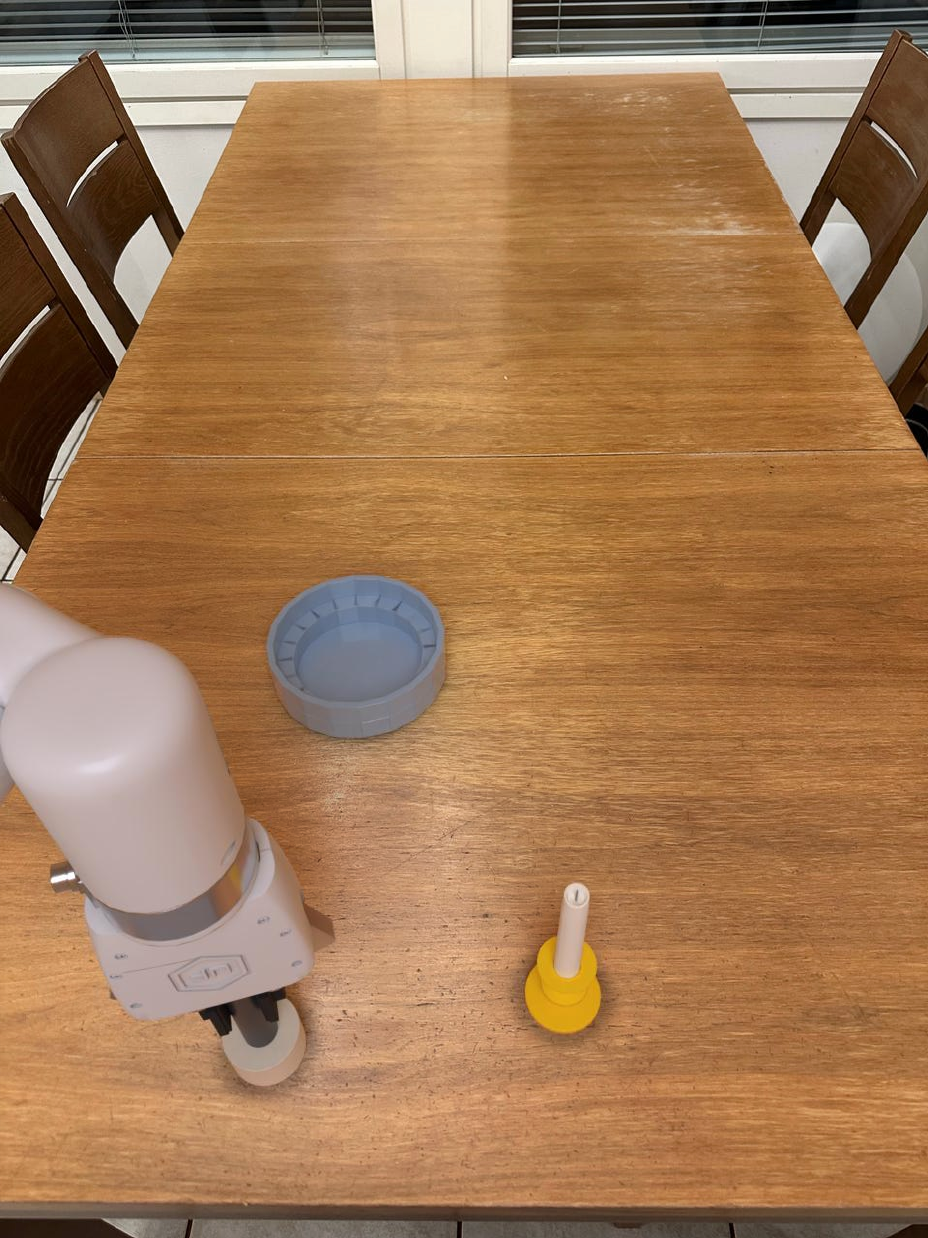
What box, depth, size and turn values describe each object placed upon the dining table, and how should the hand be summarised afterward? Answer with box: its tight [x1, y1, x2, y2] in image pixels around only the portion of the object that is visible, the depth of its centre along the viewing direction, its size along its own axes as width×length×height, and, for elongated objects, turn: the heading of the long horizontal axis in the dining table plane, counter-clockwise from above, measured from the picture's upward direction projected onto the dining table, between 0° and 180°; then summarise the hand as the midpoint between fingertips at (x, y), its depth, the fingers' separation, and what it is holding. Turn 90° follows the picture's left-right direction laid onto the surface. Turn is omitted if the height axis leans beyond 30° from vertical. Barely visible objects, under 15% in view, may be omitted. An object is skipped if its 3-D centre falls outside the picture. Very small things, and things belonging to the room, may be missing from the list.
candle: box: [524, 882, 602, 1035], centre depth 59 cm, size 5×5×16 cm
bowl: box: [265, 574, 447, 739], centre depth 83 cm, size 15×15×5 cm
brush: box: [221, 995, 307, 1087], centre depth 58 cm, size 5×5×13 cm
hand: (247, 1003), depth 58 cm, fingers closed on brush
